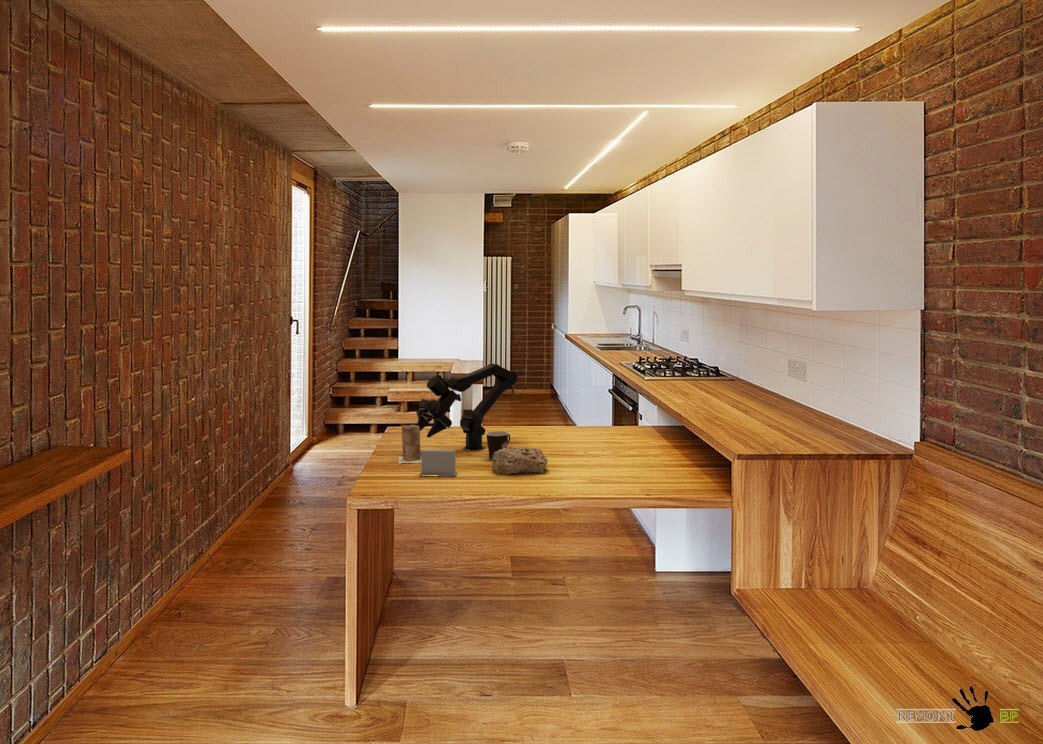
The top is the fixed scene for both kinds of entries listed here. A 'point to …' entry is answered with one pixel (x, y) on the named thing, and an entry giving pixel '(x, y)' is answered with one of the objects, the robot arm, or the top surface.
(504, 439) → the coffee mug
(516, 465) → the rock
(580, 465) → the top surface
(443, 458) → the screen
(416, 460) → the mat
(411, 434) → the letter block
